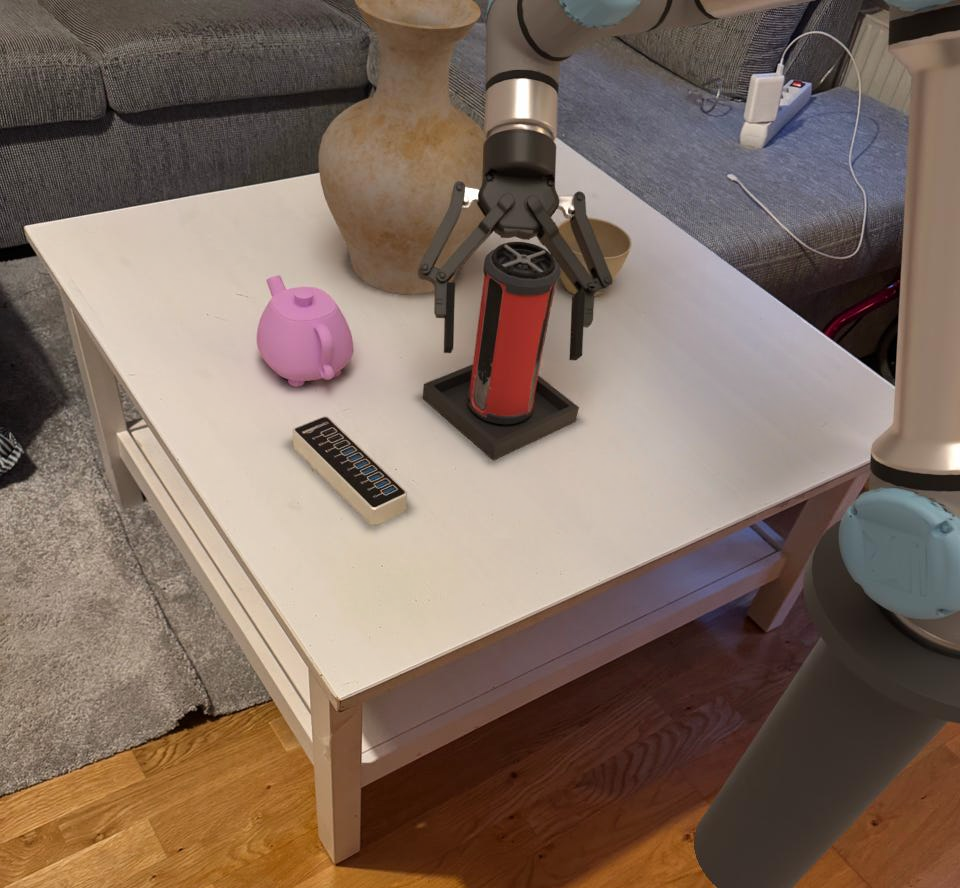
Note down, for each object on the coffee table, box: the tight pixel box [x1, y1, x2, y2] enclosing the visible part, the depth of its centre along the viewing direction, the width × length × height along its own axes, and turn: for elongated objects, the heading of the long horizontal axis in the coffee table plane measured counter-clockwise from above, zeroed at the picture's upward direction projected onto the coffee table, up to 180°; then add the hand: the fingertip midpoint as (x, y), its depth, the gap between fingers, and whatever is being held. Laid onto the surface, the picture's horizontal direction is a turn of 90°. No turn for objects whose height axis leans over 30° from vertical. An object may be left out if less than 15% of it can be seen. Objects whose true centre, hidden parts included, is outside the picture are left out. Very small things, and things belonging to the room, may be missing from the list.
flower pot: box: [557, 216, 633, 297], centre depth 120 cm, size 10×10×7 cm
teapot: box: [256, 274, 354, 387], centre depth 102 cm, size 10×15×9 cm
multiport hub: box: [292, 415, 408, 527], centre depth 94 cm, size 4×14×2 cm, turn 40°
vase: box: [317, 0, 486, 296], centre depth 110 cm, size 22×22×30 cm
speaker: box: [467, 241, 561, 425], centre depth 97 cm, size 8×8×18 cm
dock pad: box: [422, 363, 580, 461], centre depth 104 cm, size 13×13×2 cm
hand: (512, 354), depth 96 cm, fingers open, 13 cm apart
